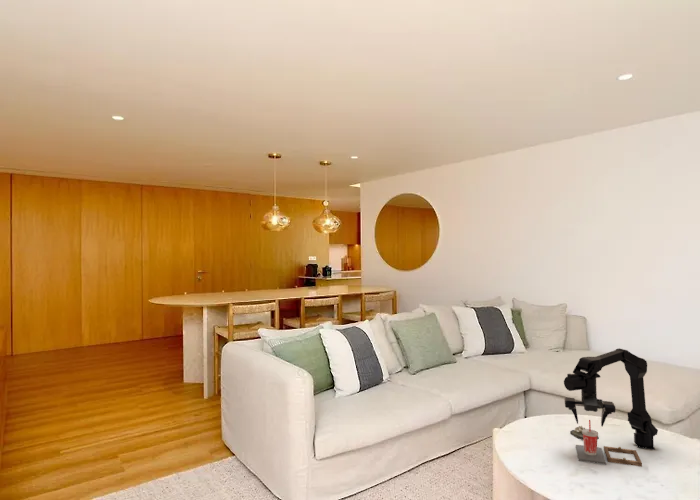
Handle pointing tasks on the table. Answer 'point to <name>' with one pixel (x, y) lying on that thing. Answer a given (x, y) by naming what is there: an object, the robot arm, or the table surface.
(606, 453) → the socket collar
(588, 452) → the beverage cup
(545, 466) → the table surface
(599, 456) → the rubber mat
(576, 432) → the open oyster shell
